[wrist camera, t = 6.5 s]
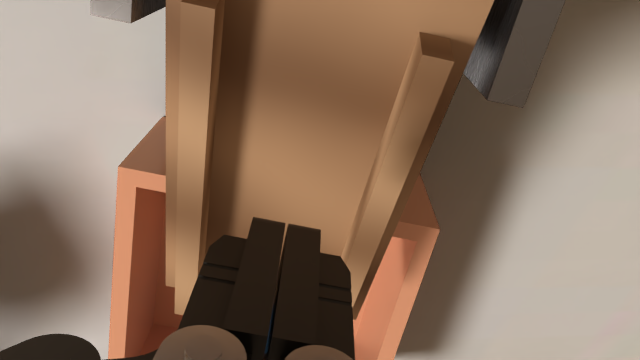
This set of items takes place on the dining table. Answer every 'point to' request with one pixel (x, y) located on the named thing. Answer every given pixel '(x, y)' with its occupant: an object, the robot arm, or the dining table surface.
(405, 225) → the cup
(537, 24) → the lever stand
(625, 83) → the dining table surface
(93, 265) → the dining table surface
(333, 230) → the lever
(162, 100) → the dining table surface
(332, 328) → the robot arm
